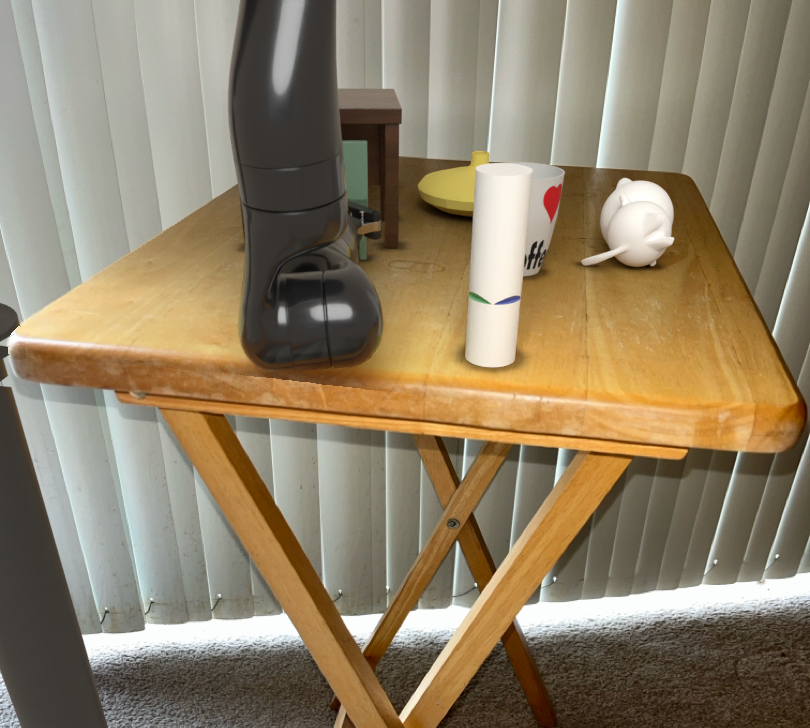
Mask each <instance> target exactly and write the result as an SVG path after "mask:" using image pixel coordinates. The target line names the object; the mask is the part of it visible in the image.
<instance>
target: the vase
mask: <svg viewBox="0 0 810 728" xmlns="http://www.w3.org/2000/svg"><path fill="white" fill-rule="evenodd" d="M470 157H471V158H470V164H469V165H467V166H459V167H453V168H447V169H441V170H436V171H433V172H429V173H427V174H424V176H423V177H422V178H421V180H420V181H419V182H418V184H417V188H418V192H419V196H420V198H421V199H422V200H423V201H424V202H426V203H427V204H430V205H431V206H433V207H435V208H436V209H438V210H440V211H441V212H445V213H448V214H451V215H457V216H462V217H463V216H464V217H473V208H474V191H475V173H476V167H477V166H480V165H483V164H490V152H489V151H486V150H475V151H472V152H471V155H470Z"/></svg>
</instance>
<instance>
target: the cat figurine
mask: <svg viewBox="0 0 810 728" xmlns="http://www.w3.org/2000/svg"><path fill="white" fill-rule="evenodd" d="M674 211H675V210H674V204H673V202H672V200H671V198H670V196H669V194H668V193H667V191H666V190H665V189H664V188H662V187H661V186H660V185H659V184H657V183H654V182H652V181H648V180H631V179H630V178H627V177H623V178H621V179H619V181H618V182H617V184H616V188H615V190H614V191H613V192H611V193H610V195H609V196H608V197H607V198H606V200H605V201H604V204H603V206H602V208H601V212H600V218H599V227H600V231H601V235H602V238H603V240H604V241H605V242H606V244H607V246H608V248H609V250H608V251H606V252H602V253H598V254H596V255H595V254H594V255H593V256H588V257H586V258H583V259H581V260H580V262H581V265H582V266H591V265H592V266H593V265H596V264H598V263H601V262H604V261H606V260H608V259H611V258H613V257H614V258H615V259H616V260H617V261H618V262H620V263H622V264H623V265H626V266H628V267H632V268H633V267H634V268H639V267H645V266H648V265H649V266H650V267H655V265H656V264H657V260H658V259H660V257H662V256H663V254H664V253H665V252H666V250H667V249H668V248H669V247H671V246H672V245H673V243H674V241H675V237H674V236H672V229H673V228H672V227H673V224H674V217H675V214H674V213H675V212H674Z"/></svg>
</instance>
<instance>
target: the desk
mask: <svg viewBox="0 0 810 728" xmlns="http://www.w3.org/2000/svg"><path fill="white" fill-rule="evenodd" d="M338 97H339V111H340V123H341V133H342V140H366V141H367V163H368V186H379V211H381V220H384V248H385V249H399V217H400V216H399V204H400V199H399V197H400V191H399V190H400V125H402V124H403V109H402V106H401V102H400V100H399V98H398V96H397V92H396V90H395V88H338ZM238 193H239V192H238ZM239 195H240V193H239ZM239 203H240V204H239V205H240V213H241V222H242V223H241V224H242V234H243V243H244V244H243V245H244V246H243V247H245V230H244V219H243V211H242V205H241V198H240V197H239Z"/></svg>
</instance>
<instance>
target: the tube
mask: <svg viewBox="0 0 810 728" xmlns="http://www.w3.org/2000/svg"><path fill="white" fill-rule="evenodd" d="M532 176H533V169H532V168H530V167H527V166H524V165H519V164H511V163H507V162H491V163H490V162H489V164H483V165H480V166H477V167H476V173H475V191H474V208H473V216H472V225H471V230H472V231H471V242H470V243H471V244H470V263H469V277H468V278H469V279H468V298H467V312H466V313H467V315H466V331H465V350H464V358H465V360H466V361H467V362H469V363H470V364H473V365H475V366H478V367H482V368H501V367H506V366H509V365H512V364H513V363H514V362H515V361H516V355H517V342H518V331H519V323H520V312H521V301H522V288H523V280H524V279H523V278H524V276H523V271H524V260H525V249H526V239H527V228H528V218H529V207H530V197H531V186H532Z"/></svg>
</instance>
